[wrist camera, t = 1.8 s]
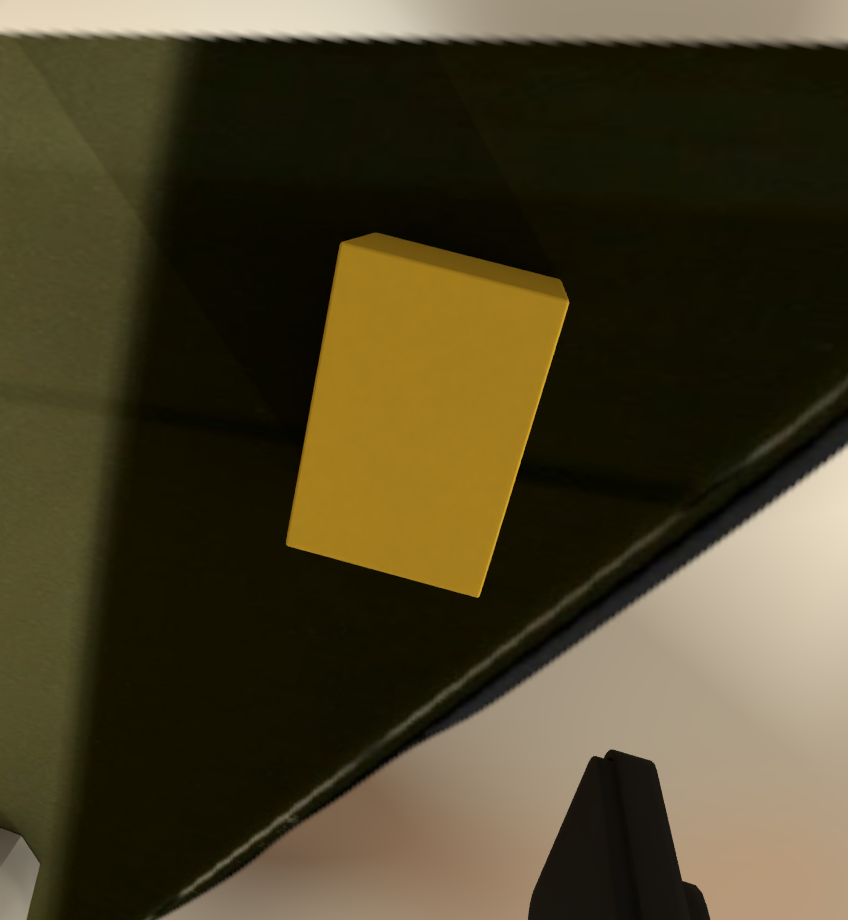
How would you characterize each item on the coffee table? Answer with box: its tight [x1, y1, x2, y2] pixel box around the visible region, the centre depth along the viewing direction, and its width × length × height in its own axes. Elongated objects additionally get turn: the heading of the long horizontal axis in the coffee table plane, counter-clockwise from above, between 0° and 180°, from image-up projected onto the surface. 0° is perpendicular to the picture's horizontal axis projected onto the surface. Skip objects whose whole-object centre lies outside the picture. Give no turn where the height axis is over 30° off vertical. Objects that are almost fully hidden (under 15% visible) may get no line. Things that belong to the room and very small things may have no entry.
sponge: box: [286, 233, 569, 597], centre depth 22 cm, size 9×6×4 cm, turn 167°
